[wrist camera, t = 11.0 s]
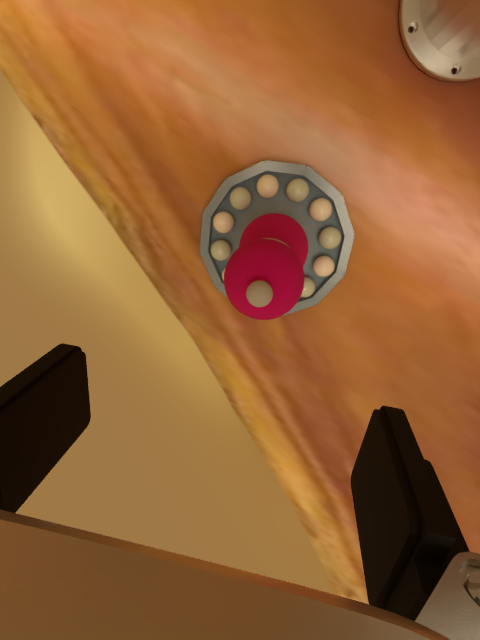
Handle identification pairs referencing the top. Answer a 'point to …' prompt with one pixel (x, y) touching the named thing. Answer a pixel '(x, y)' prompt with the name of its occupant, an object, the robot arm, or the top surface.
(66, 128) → the top surface
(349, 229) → the bead tray
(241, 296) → the pepper mill
